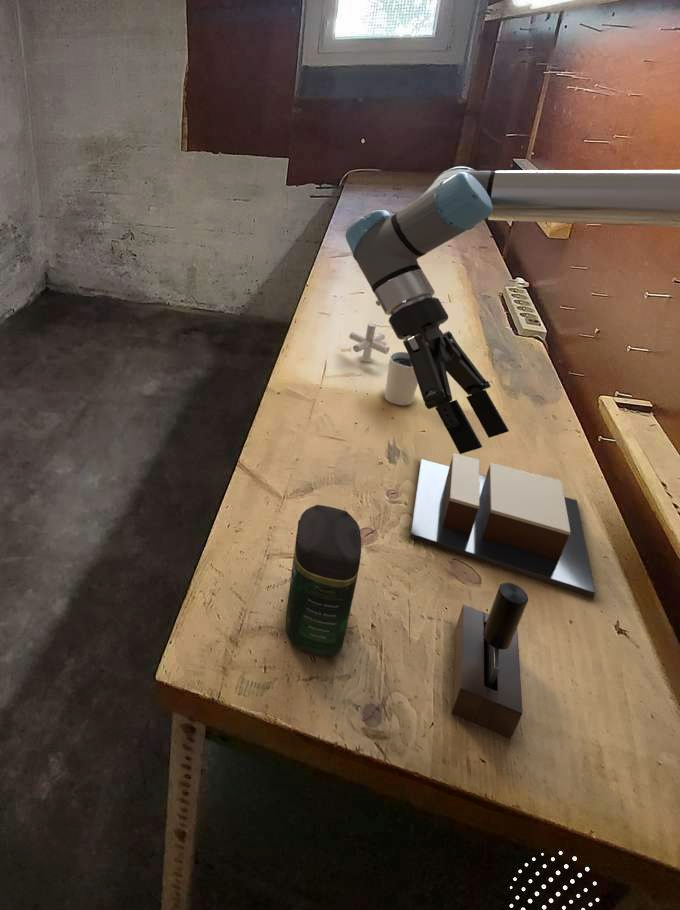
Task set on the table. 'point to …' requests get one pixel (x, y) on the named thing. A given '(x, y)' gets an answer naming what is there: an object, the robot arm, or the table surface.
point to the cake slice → (462, 493)
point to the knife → (501, 627)
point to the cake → (524, 511)
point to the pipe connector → (369, 342)
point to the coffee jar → (323, 580)
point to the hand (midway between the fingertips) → (486, 442)
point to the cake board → (430, 530)
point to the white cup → (400, 379)
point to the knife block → (469, 693)
